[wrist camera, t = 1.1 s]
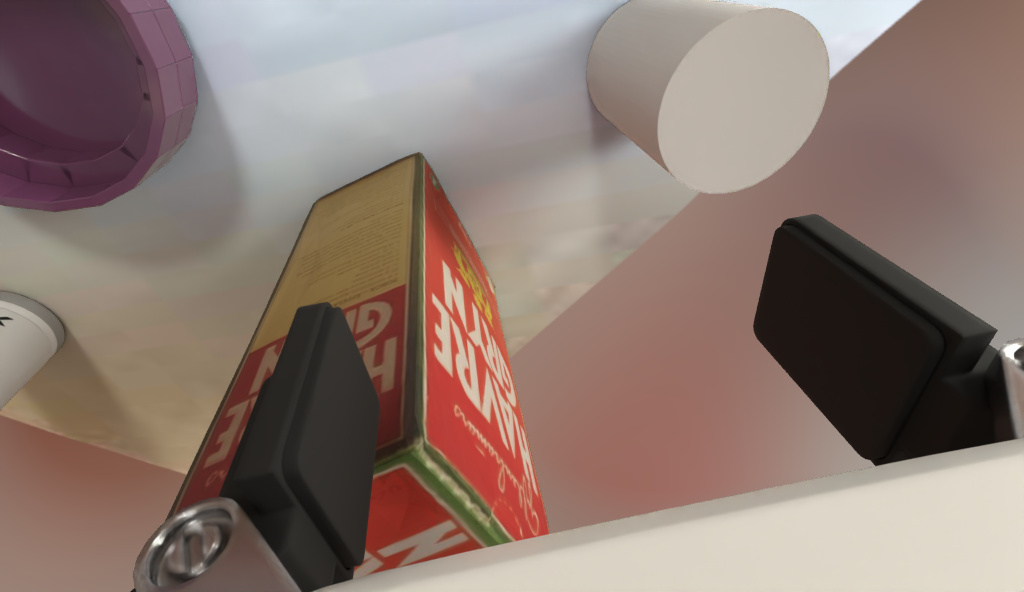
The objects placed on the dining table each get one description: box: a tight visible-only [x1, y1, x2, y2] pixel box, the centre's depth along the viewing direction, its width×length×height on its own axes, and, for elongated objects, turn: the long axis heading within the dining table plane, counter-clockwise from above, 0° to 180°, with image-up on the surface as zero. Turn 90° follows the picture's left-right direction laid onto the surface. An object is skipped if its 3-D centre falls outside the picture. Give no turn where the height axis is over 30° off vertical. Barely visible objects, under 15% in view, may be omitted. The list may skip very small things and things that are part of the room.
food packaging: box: [165, 152, 550, 579], centre depth 27 cm, size 13×9×25 cm
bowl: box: [0, 0, 198, 212], centre depth 25 cm, size 15×15×5 cm
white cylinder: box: [587, 0, 830, 194], centre depth 27 cm, size 8×8×12 cm
